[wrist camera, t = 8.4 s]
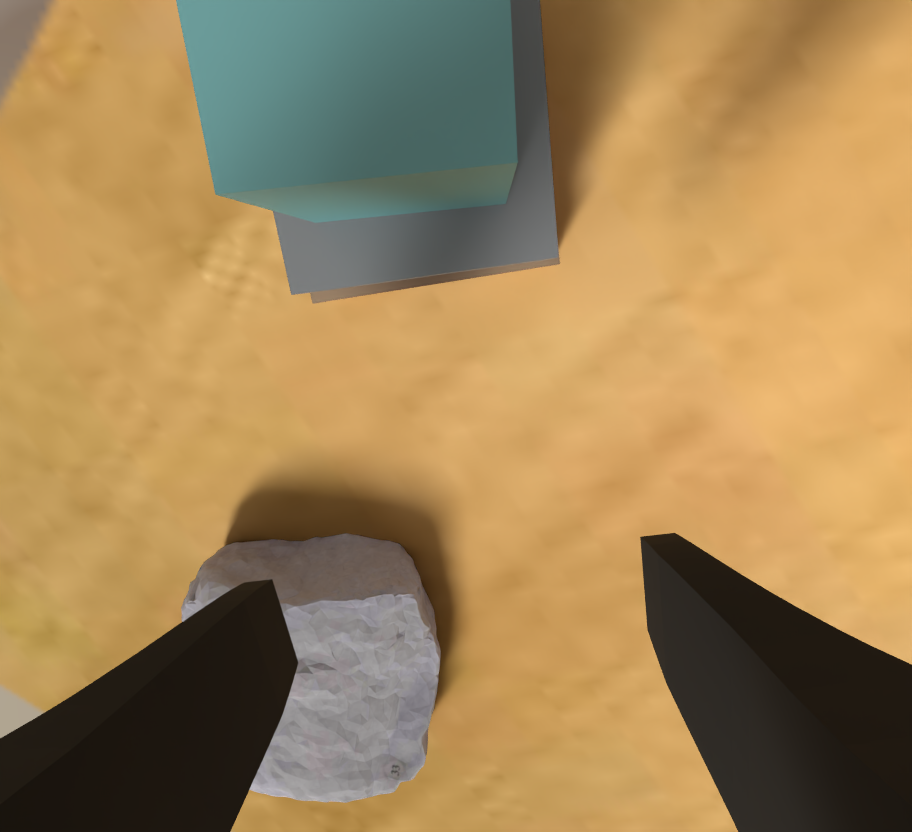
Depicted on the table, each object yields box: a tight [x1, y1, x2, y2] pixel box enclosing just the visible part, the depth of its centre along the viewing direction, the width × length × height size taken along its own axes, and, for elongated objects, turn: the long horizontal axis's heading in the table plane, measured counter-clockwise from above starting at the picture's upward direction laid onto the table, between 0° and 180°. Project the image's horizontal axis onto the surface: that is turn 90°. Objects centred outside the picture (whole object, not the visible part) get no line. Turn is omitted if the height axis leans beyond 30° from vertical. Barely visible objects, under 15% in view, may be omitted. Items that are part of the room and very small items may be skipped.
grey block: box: [273, 0, 559, 295], centre depth 13 cm, size 7×7×3 cm
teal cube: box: [176, 0, 518, 223], centre depth 9 cm, size 5×5×5 cm
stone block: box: [182, 533, 441, 802], centre depth 22 cm, size 12×5×10 cm
